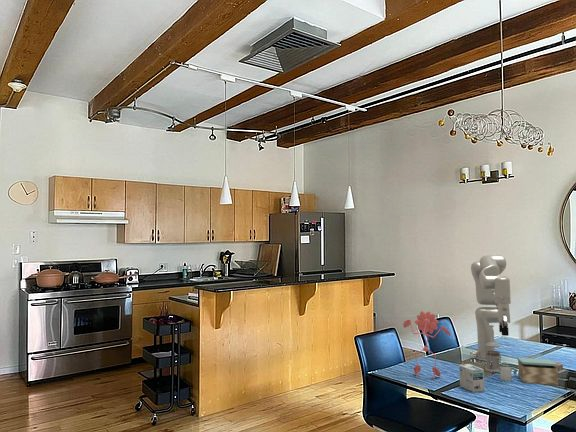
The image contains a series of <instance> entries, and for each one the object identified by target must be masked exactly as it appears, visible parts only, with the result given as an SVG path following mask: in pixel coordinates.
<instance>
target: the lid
mask: <svg viewBox="0 0 576 432" xmlns="http://www.w3.org/2000/svg"><path fill="white" fill-rule="evenodd" d="M518 360H519V361H520V362H521V363H522V364H531V365H546V366H558V364H557V363H555V362H556V361H554V360H552V359H544V358H542V359H541V358H528V357H526V358H525V357H517V361H518Z"/></svg>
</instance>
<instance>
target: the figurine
mask: <svg viewBox="0 0 576 432" xmlns="http://www.w3.org/2000/svg"><path fill="white" fill-rule="evenodd" d="M416 318H417V320H415V321H414V323H415V324H416V325H417V330H418V331H421V332H414V329H413V325H412V320H411V319H410V318H409V319H406V320H405V321H404V322H403V325H402V326H403V328H407V327H409V326H410V328H411V332H412V334H413V335H424V336H425V337H426V338H427V339H426V343H425V346H424V347H422V348H423V349H422V350H420V351H418V352H416V353H415V361H416V365H414V367H413V372H414V374H415V376H416V378H418V374H419V373H420V372H421V371H422V370H421V369H422V368H421V366H420V364H418V359H417V354H419V353H420V352H421V353H422V351H424V352H430V353H431V354H432V355H434V365H436V362H437V361H436V359H437V355H436V354H435V353H433V352H432V351H431V350H430V349H429V347H428V342H429V339H430V338H429V337H431V338H432V339H434V338H435V337H436V336H437V335H438V334H439V332H440V331H443V332H444V333H445V334H446V335H448V336H449V337H451V332H450V331H449V329H448V328H446V327H445V326H443V325H441V327H440V328H439V330H438V324H439V320H437V317H436V313H431V311H429V310H428V311H426V312H424V311H423V310H421V311H420V313H419V314H417V315H416ZM434 330H438V331H437V332H436V333H435V334H434V335H432V334H433V333H434ZM428 333H429V334H428ZM430 334H431V335H430ZM431 369H432V373H433V378H432V379H434V380H435V375H436V376H438V377H439V378H440V377H441V371H440V370H439V369H438V368H437V367H436V366H432V368H431Z"/></svg>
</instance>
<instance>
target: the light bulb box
mask: <svg viewBox="0 0 576 432" xmlns="http://www.w3.org/2000/svg"><path fill="white" fill-rule="evenodd" d="M458 367H459V386H460V387H462V388H463V389H466V390H468V391H470V392H472V393H479V392H484V391H486V390H485V369H484V368H482V367H478V366H475V365H474V364H472V363H466V364H459V366H458Z"/></svg>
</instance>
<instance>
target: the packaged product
mask: <svg viewBox="0 0 576 432" xmlns="http://www.w3.org/2000/svg"><path fill="white" fill-rule="evenodd" d="M554 362H555V363H557V364H558V366H555V367H556V368H557V369H558V375H560V374H563V373H564V372H568V369H564V364H563V363H561V362H558V361H554Z"/></svg>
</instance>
